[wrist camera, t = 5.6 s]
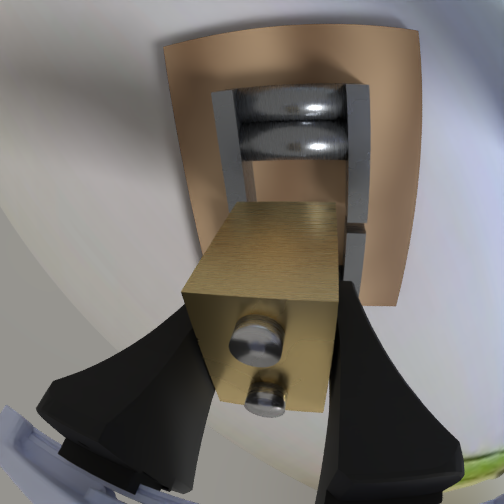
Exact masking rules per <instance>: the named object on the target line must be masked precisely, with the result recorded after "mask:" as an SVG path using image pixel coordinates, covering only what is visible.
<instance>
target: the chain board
mask: <svg viewBox="0 0 504 504" xmlns="http://www.w3.org/2000/svg"><path fill="white" fill-rule="evenodd" d="M163 48H164V55H165V62H166V69H167V75H168V82H169V88H170V94H171V100H172V106H173V112H174V118H175V123H176V129H177V134H178V140H179V145H180V151H181V156H182V161H183V166H184V171H185V176H186V181H187V186H188V191H189V195H190V200H191V205H192V209H193V214H194V219H195V223H196V228H197V232H198V237H199V241H200V245H201V250H202V254H203V255H204V253H205V252H206V250H207V248H208V247H209V245H210V244H211V242H212V240H213V239H214V237H215V236H216V234H217V232H218V231H219V229H220V228H221V226H222V224H223V223H224V221H225V220H226V218H227V217H228V215H229V208H228V202H227V196H226V190H225V183H224V177H223V171H222V164H221V158H220V151H219V144H218V138H217V131H216V125H215V118H214V111H213V104H212V97H211V93H212V92H216V91H220V90H226V89H234V88H242V87H243V88H247V87H257V86H269V85H283V84H307V83H363V84H367V85H369V88H370V119H371V154H370V186H369V204H368V219H367V223H364V225H365V230H366V242H365V252H364V261H363V270H362V278H361V286H360V293H359V300H360V302H361V304H362V306H396V304H397V300H398V296H399V292H400V288H401V283H402V279H403V274H404V269H405V265H406V260H407V254H408V249H409V244H410V238H411V232H412V226H413V219H414V212H415V205H416V197H417V188H418V178H419V167H420V154H421V135H422V74H421V56H420V43H419V33H418V31H416V30H410V29H402V28H394V27H384V26H372V25H356V24H304V25H286V26H274V27H264V28H256V29H248V30H241V31H234V32H228V33H222V34H217V35H212V36H207V37H202V38H197V39H193V40H188V41H184V42H180V43H176V44H172V45H169V46H165V47H163ZM252 163H253V172H254V180H255V189H256V197H257V202H336V216H337V238H338V265H342V262H343V246H344V226H345V215H346V208H345V194H346V160H271V161H252Z"/></svg>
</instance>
